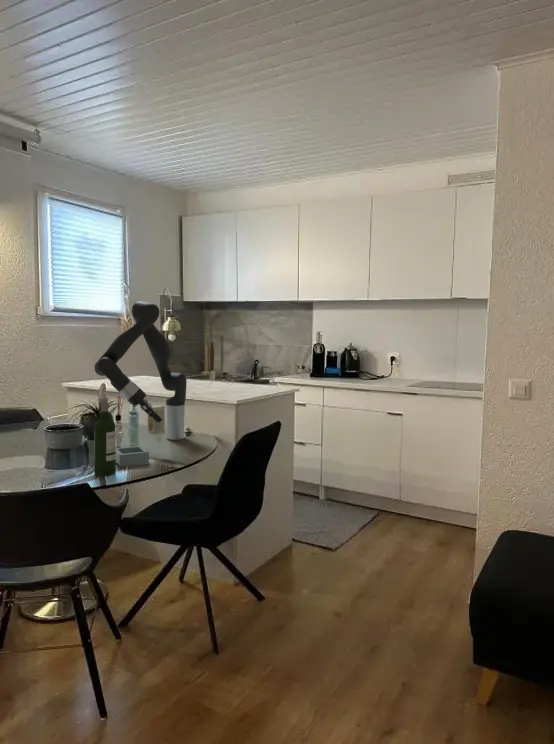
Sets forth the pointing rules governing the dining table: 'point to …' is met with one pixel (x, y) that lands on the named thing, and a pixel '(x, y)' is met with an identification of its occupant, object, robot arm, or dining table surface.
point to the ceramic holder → (131, 456)
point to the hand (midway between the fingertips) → (160, 419)
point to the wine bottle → (104, 442)
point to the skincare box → (153, 424)
